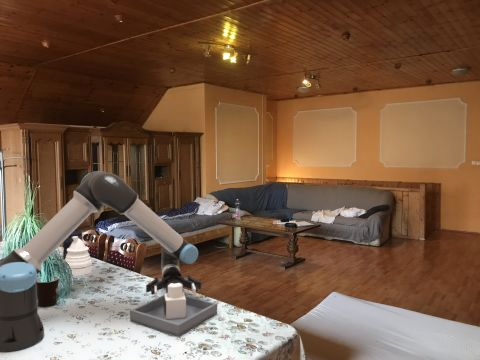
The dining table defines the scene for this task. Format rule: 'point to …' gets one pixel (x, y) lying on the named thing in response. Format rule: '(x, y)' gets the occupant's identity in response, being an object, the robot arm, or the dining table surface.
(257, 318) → the dining table surface
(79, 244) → the honey pot
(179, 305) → the medicine bottle
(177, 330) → the box
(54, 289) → the brown plant pot
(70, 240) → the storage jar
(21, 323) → the robot arm
